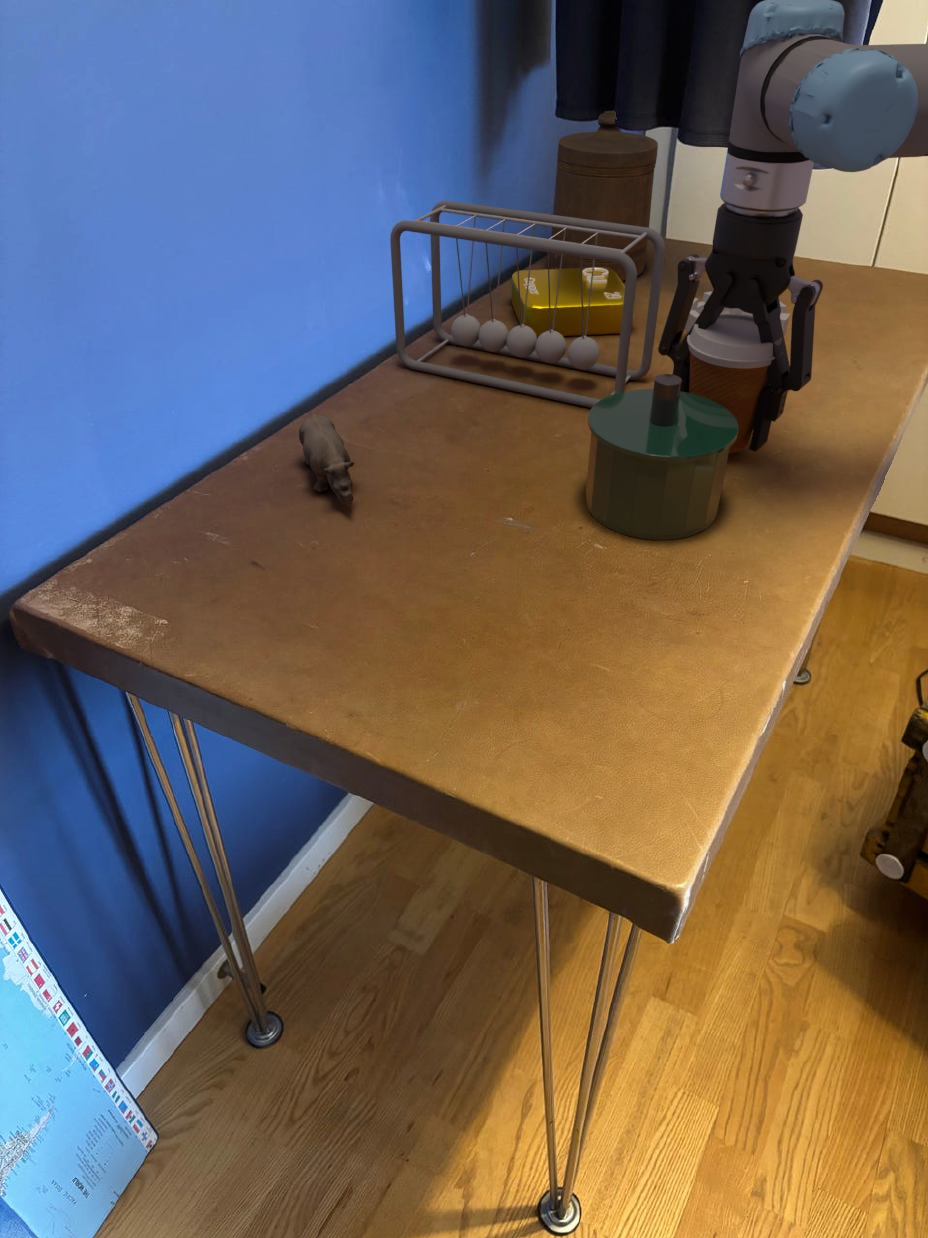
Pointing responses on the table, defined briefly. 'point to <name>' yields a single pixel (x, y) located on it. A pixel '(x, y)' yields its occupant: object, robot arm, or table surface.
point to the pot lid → (663, 423)
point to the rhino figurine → (327, 456)
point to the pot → (653, 493)
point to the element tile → (570, 300)
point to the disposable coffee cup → (731, 368)
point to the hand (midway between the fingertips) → (719, 433)
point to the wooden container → (604, 189)
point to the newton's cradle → (523, 337)
